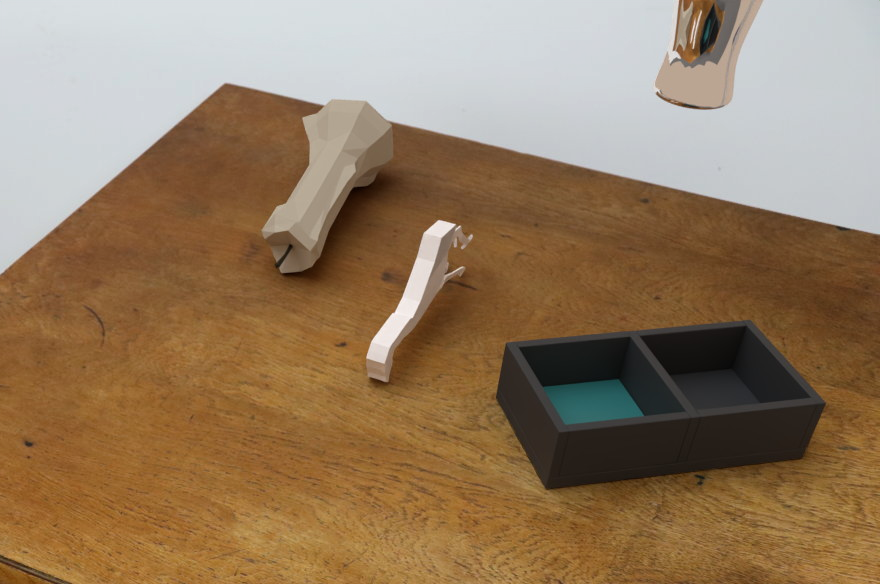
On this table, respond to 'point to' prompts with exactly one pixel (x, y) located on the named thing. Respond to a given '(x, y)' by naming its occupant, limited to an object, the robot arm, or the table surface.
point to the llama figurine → (416, 295)
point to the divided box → (655, 402)
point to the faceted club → (328, 179)
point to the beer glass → (704, 52)
